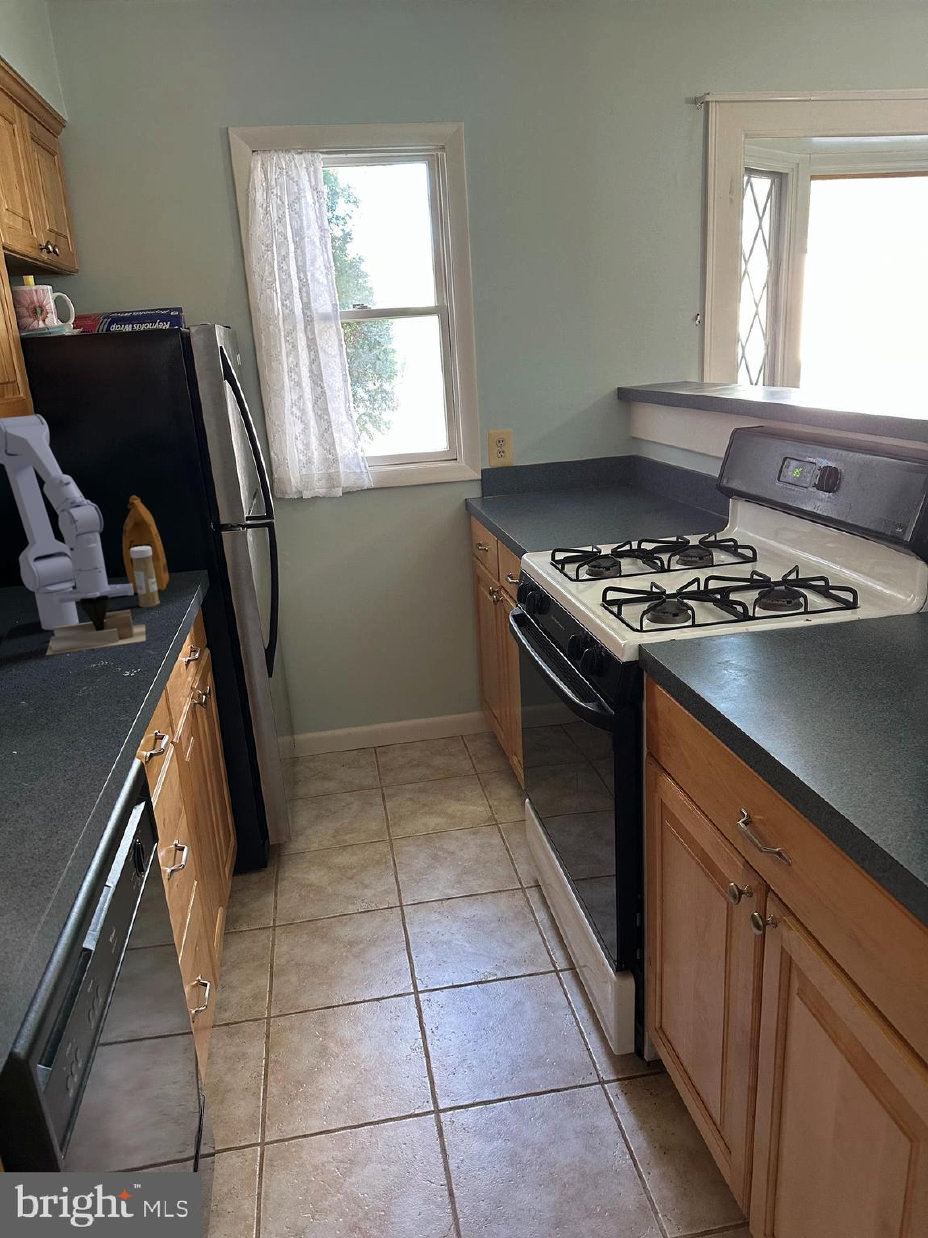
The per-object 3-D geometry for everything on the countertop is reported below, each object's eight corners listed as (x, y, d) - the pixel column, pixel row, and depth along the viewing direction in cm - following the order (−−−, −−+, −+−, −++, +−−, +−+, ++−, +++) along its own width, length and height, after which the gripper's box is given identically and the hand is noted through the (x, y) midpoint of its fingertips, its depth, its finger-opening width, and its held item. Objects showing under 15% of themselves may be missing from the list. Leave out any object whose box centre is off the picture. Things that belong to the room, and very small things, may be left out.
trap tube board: (52, 641, 179) (49, 625, 178) (145, 628, 185) (143, 612, 184) (47, 660, 168) (43, 642, 167) (146, 645, 174) (143, 628, 173)
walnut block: (110, 634, 179) (106, 612, 178) (133, 630, 180) (129, 609, 179) (109, 640, 175) (105, 618, 174) (133, 637, 176) (129, 615, 175)
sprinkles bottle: (162, 605, 202) (153, 547, 198) (142, 609, 199) (132, 550, 195) (157, 601, 205) (148, 544, 201) (136, 605, 203) (127, 547, 199)
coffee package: (124, 595, 212) (109, 504, 205) (130, 583, 223) (115, 496, 217) (168, 590, 214) (154, 500, 207) (171, 578, 225) (158, 492, 219)
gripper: (46, 576, 166) (60, 645, 170) (128, 567, 171) (139, 634, 175) (50, 568, 173) (62, 634, 177) (128, 559, 177) (139, 624, 181)
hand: (101, 633), depth 176 cm, fingers closed
